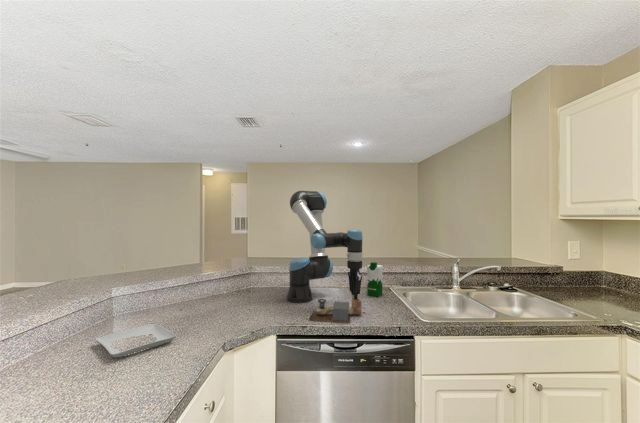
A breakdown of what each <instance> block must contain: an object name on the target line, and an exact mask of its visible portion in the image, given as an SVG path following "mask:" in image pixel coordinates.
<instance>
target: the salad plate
mask: <svg viewBox="0 0 640 423" xmlns="http://www.w3.org/2000/svg"><path fill="white" fill-rule="evenodd" d="M149 334H153V335H154V336H153V337H156V338H157V340H156V342H152V343H148V344H145V345H142V346H138V347H135V348H132V349H129V350H126V351H123V352H120V351H119V350H118V349H113V348H112V347H111V346H113V345H114V344H115V342H114V343H113V345H112V343H111V342H113V341H116V340H119V339H122V338H127V337H131V336H135V337H136V336H140V335H149ZM176 337H178V336H177V334H176V333H173V331H171V330H169V329H167V328H165V327H163V326H161V325H160V324H158V323H156V322H154V323H150V324H145V325H142V326H137V327H133V328H128V329H125V330H122V331H117V332H113V333H110V334H106V335H102V336H99V337H96V338H95V342H96V343H97V344H99V345H100V346H101V347H103V348H104V349H105V350H106V351H107V352H108V353H109V354H110V356H111V357H112V358H123V357H122V356H124V357H126V356H125V355H128V354H131V353H134V352H138V351H141V350H144V349H147V348H150V349H152V348H151V347H153V348H155V347H154V346H157V347H159V346H158V345H160V346H162V345H165V344H168V343H170V342H171V341H173V340H175V338H176ZM164 343H165V344H164ZM161 344H162V345H161ZM147 350H148V349H147ZM144 351H145V350H144ZM141 352H142V351H141ZM138 353H139V352H138ZM131 355H132V354H131ZM128 356H129V355H128Z"/></svg>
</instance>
